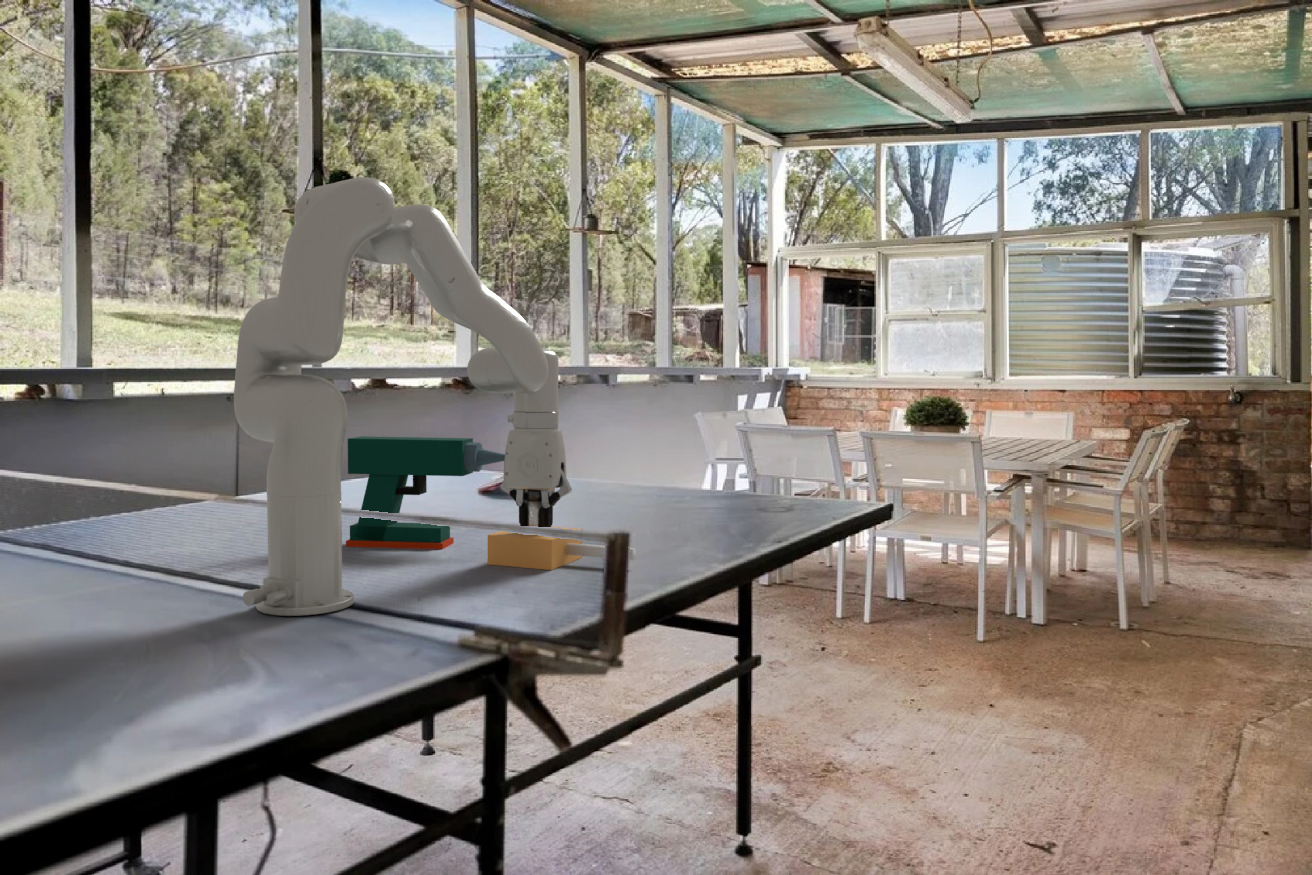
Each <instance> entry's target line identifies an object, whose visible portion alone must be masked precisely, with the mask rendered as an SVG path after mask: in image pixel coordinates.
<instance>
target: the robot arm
mask: <svg viewBox="0 0 1312 875" xmlns="http://www.w3.org/2000/svg"><path fill="white" fill-rule="evenodd" d="M395 205H396V202H395V197H394V194H393V192H392V190H391V189H390V187H389V186H388V185H387V184H386V183H385V182H384V181H381V180H379V179H377V178H373V177H367V176H363V177H362V176H360V177H355V178H354V177H353V178H349V179H345V180H340V181H336V182H334V183H328V184H324V185H318V186H314V187H312V188H310V189H307V190H306V191H305V192H304V193H302V194H300V197H299V198H298V199H297V202H296V204H295V207H294V212H293V214H294V216H293V217H294V221H295V225H294V226H293V228H292V230H291V232H290V234H289V236H288V239H287V242H286V244H285V248H284V253H283V260H282V265H281V266H282V267H281V271H280V279H279V280H280V281H279V287H278V289H279V290H278V294H277V296H276V297H269V298H265V299H263V300H261V301H258V302H257V303H255V304H254V305H253V306H252V307H251V308H250V309H248V311H247V313H246V314H245V316H244V318H243V319H242V321H241V322H242V323H241V325H240V329H239V333H238V340H237V347H236V348H237V349H236V350H237V351H236V362H235V363H236V364H235V377H234V390H233V408H234V409H233V410H234V415H235V418H236V421H237V424H238V426H239V427H240V428H241V430H242V431H243V432H244V433H245V434H247V435H248V436H249V437H251V438H252V439H255V440H258V441H262V442H267V443H273V445H272V449H271V452H270V456H269V460H268V464H267V470H266V514H267V515H266V516H267V519H266V520H267V524H266V525H267V526H266V527H267V569H268V570H267V574H268V576H267V577H262V579H263V580H262V583H263V584H262V585H261V586H260V588H254V589H250V590H247V591H244V593H243V595H242V602H243V603H244V604H245V606H247V607H250V606H255V608H256V611H259V612H260V613H261V614H265V615H272V616H284V617H294V616H295V617H298V616H299V617H300V616H301V617H302V616H311V615H313V616H315V615H319V614H321V615H322V614H327V613H333V612H338V611H342V610H345V609H346V608H348V607H350V606H352V605H353V604H354V602H355V594H354V593H353V592H352V591H350V590H348V589H343V540H342V537H343V536H342V535H343V532H342V530H343V529H342V525H343V524H342V523H343V522H342V518H343V517H342V457H343V456H342V455H343V446H344V440H345V436H346V430H347V425H348V424H347V423H348V408H347V402H346V400H345V397H344V395H343V393H342V391H341V390H340V389H339V387H337V386H336V385H335V383H333V382H331V381H330V380H328V379H326V378H323V377H321V376H317V375H312V374H302V367H303V366H308V365H309V366H313V365H320V364H321V365H322V364H324V363H327V362H329V361H331V360H333V359H334V358H335V357H336V356H337V354H339V351H340V349H341V346H342V343H343V337H344V336H343V335H344V327H345V326H344V324H345V310H346V296H347V287H348V286H347V285H348V279H349V272H350V267H351V264H352V262H353V260H354V258H357V259H361V260H364V261H367V262H372V263H376V264H381V265H388V266H389V265H400V264H406V266H407V267H408V269H409V270H410V273H412V276H413V277H414V278H415V280H416V282H417V283H418V285H419V286H420V288H421V290H422V292H423V293H424V295H425V296H426V298H427V299H428V301H429V303H430V304H431V307H432V308H433V310H434V311H436V313H437V314H438V315H440V316H442V317H443V318H445V319H446V320H448V321H450V322H453V323H454V324H457V325H459V326H461V327H463V328H465V329H469V330H470V331H472V332H474V333H475V334H477V335H479V336H480V337H483V339H485V340H486V341H488V343H490V344H491V345H492V347H485V348H482V349H480V350H478V351H477V352H475V353H474V354H473V355H471V357H470V359H469V360H468V362H467V366H466V367H467V368H466V371H467V373H466V374H467V376H468V379H469V381H470V382H471V385H473V386H474V388H476V389H478V390H480V391H482V392H485V393H491V394H492V393H493V394H513V412H512V414H509V415H507V418H506V419H507V423H512V427H513V429H510V430H508V435H507V439H506V446H505V453H504V454H505V460H504V461H503V480H502V483H501V485H500V490H502V491H503V492H505V493H506V494H508V495H510V497H511V498H512V500H513V501H514V502H515V504H516V506H517V507H518V523H519V526H527V489H531V490H541V494H542V508H540V509H539V527H552V525H553V523H554V521H553V520H554V515H553V514H554V507H555V505H556V504H557V503H558V502H559V501H560V500H561V498H562V497H565V496H567V495H569V494H571V493H572V491H573V489H572V486H571V485H570V482H569V480H568V478H567V460H566V457H567V456H566V450H565V442H564V441H565V440H564V438H563V432H562V430H559V357H558V355H557V353H556V352H555V351H553V350H549V349H543V347H542V345H541V343H540V341H539V340H538V338H537V336H536V334H535V333H534V331H533V329H532V327H531V326H530V324H529V323H528V322H527V321H526V319H524V317H523V316H522V315H521V314H520V313H518V312H517V310H515V309H514V308H513V307H512V306H510V304H508V303H507V302H506V301H505V300H504V299H502V298H501V297H500V296H499V295H498V294H496V293H494V292H493V291H492V290H490V289H489V288H488V287H487V286H486V285H485V284H484V283H483V282H482V280H481V278H480V277H479V275H478V273H477V271H476V270H475V268H474V266H473V265H472V263H471V261H470V259H469V258H468V255H467V254H466V252H465V251H464V248H462V245H461V243H460V241H459V239H458V238H457V237H456V235H455V233H454V231H453V229H452V228H451V226H450V224H449V223H448V221H447V219H446V218H445V216H444V215H443V214H442V212H440V211H439V210H438V209H437V208H436V207H434V206H432V205H428V204H420V203H419V204H409V205H403V206H396V207H395ZM556 489H557V490H556Z"/></svg>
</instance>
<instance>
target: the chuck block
mask: <svg viewBox="0 0 1312 875" xmlns="http://www.w3.org/2000/svg"><path fill="white" fill-rule="evenodd" d="M552 527H553V528H560V526H559V527H557V526H556V527H555V526H552ZM561 528H562V529H572V530H583V528H571V527H561ZM605 546H606V545H597V544H585V543H583V541H578V540H573V539H560V538H552V537H544V536H538V535H523V534H518V533H510V532H504V531H503V530H500V531H497V532H493V533H489V534H487V565H489V566H490V565H491V566H502V567H503V566H504V567H512V568H525V569H536V570H545V571H547V570H549V571H553V570H555V569H557V568H558V569H559V568H560V567H563V566H565V565H567V564H570V563H572V562H574V561H577V560H579V559H582V558H583V557H589V558H600V559H601V558H603V559H605V558H604V556H605ZM629 548H630V552H629V560H628V561H634V560H635V558H636V548H633V547H629Z"/></svg>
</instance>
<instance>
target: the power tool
mask: <svg viewBox="0 0 1312 875" xmlns="http://www.w3.org/2000/svg"><path fill="white" fill-rule="evenodd" d="M482 445H483V444H482V443H481V442H474V437H473V438H472V437H471V438H468V437H425V436H424V437H423V436H421V437H420V436H419V437H416V436H414V437H413V436H407V437H406V436H365V435H364V436H357V437H351V438H350V437H349V438H347V474H349V475H368V477H367V478H368V479H367V483H366V486H365V492H364V495H363V500H362V504H361V508H360V511H361V510H369V511H379V512H388V513H399V514H400V512H401V508H402V503H403V498H404V496H407V495H408V496H420V495H423V494H425V493H427V490H428V488H427V486H428V485H427V476H432V477H433V476H434V477H435V476H436V477H440V476H441V477H442V476H443V477H464V476H467V475H470V474H473V473H474V472H477V473H478V472H479V473H480V471H481V470H482V468H483V466H485V465H486V466H487V465H492V464H496V463H501V462H504V460H505V453H500V452H496V451H491V450H488V449H484V448H483V446H482ZM409 476H412V486H410V485H407V482H408V478H409ZM421 523H422V522H398V521H391V520H381V519H374V518H361V517H359V516H358V521H357V523H354V524H352V525H349V539H347V540H345V547H349V548H378V549H379V548H381V549H382V548H383V549H385V548H388V549H416V550H418V549H419V550H420V549H421V550H423V549H424V550H444V549H446V548H448V547H450V546H451V545H453V544H454V539H455V538H454V537H451V526H450V527H449V526H437V525H431V524H421Z"/></svg>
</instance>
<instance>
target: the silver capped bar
mask: <svg viewBox="0 0 1312 875" xmlns="http://www.w3.org/2000/svg"><path fill="white" fill-rule="evenodd" d="M540 508H542V494H541V490H531V489H527V526H538V527H539V509H540Z"/></svg>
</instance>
